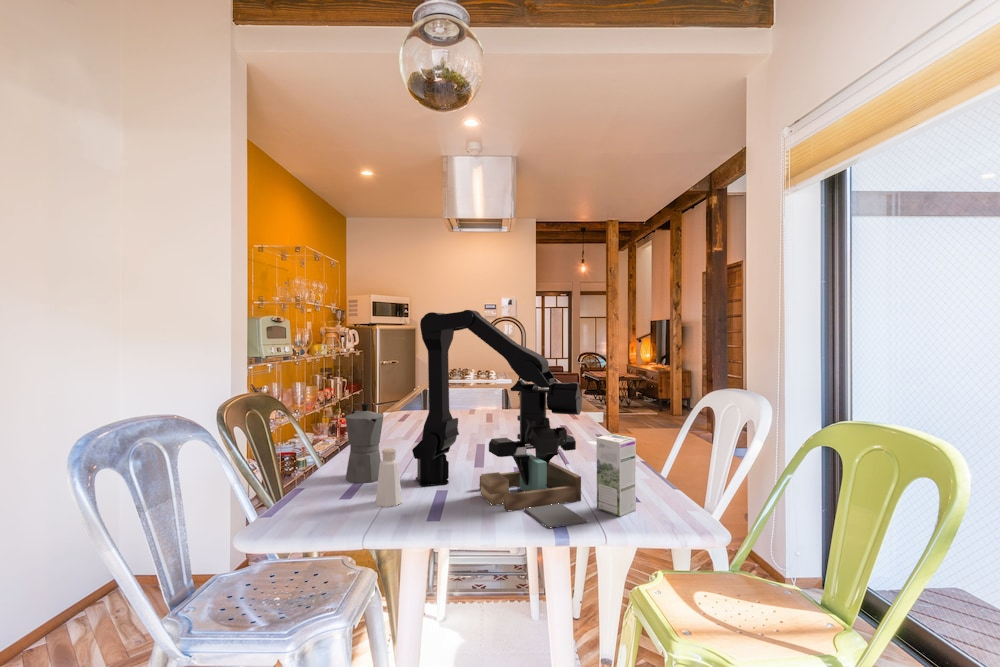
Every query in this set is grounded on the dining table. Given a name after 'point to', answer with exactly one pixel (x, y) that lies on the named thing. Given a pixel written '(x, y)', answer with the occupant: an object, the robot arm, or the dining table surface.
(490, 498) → the offcut lower
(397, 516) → the dining table surface
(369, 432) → the coffeepot
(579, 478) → the rack
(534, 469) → the teal rectangular block
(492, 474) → the offcut upper
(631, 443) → the syrup box
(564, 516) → the mat
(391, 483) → the pepper shaker
